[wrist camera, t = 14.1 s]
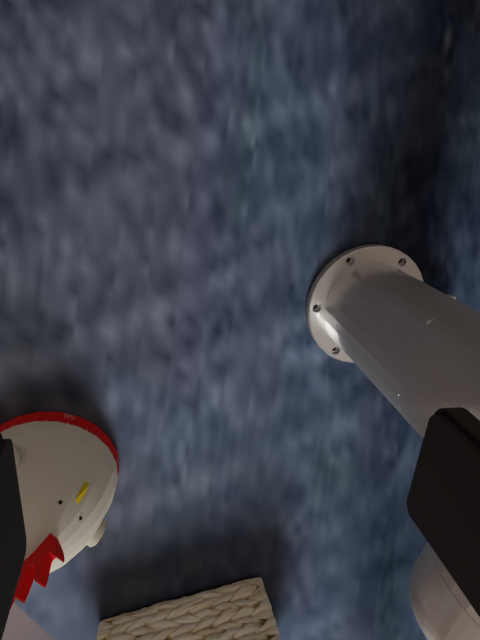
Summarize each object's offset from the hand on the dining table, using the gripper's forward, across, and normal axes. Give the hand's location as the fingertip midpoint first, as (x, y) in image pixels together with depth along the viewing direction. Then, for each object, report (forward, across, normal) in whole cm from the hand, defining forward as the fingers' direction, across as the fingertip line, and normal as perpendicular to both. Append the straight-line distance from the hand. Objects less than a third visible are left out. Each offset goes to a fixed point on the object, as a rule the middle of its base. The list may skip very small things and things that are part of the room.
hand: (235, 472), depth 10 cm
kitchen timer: (+32, +12, +26) cm, 43 cm away
